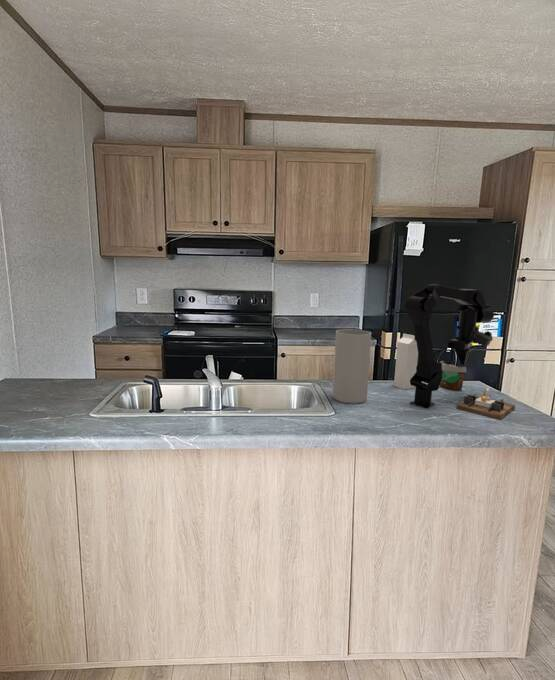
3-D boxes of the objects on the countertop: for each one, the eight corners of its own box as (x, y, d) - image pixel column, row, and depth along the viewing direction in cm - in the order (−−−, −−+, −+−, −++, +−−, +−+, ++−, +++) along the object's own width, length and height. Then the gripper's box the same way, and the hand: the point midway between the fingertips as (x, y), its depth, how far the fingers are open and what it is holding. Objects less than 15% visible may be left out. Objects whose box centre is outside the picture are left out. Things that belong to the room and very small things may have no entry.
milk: (404, 390, 159) (409, 336, 155) (393, 386, 164) (397, 333, 160) (415, 388, 162) (420, 335, 158) (404, 384, 167) (408, 332, 163)
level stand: (499, 419, 129) (501, 408, 128) (456, 408, 139) (457, 397, 138) (514, 408, 140) (516, 397, 139) (473, 399, 150) (474, 388, 149)
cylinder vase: (373, 399, 146) (378, 332, 142) (352, 406, 138) (357, 336, 133) (346, 391, 155) (350, 328, 151) (325, 397, 147) (328, 331, 143)
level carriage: (489, 408, 134) (491, 392, 133) (474, 404, 138) (476, 388, 137) (494, 404, 138) (496, 389, 137) (479, 401, 141) (481, 386, 140)
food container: (429, 384, 168) (431, 361, 166) (440, 383, 170) (442, 360, 169) (453, 392, 157) (456, 368, 155) (464, 391, 159) (467, 367, 158)
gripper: (481, 328, 133) (476, 373, 136) (499, 323, 146) (494, 365, 149) (448, 324, 141) (444, 367, 144) (468, 320, 154) (464, 359, 157)
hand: (463, 364), depth 148 cm, fingers closed
